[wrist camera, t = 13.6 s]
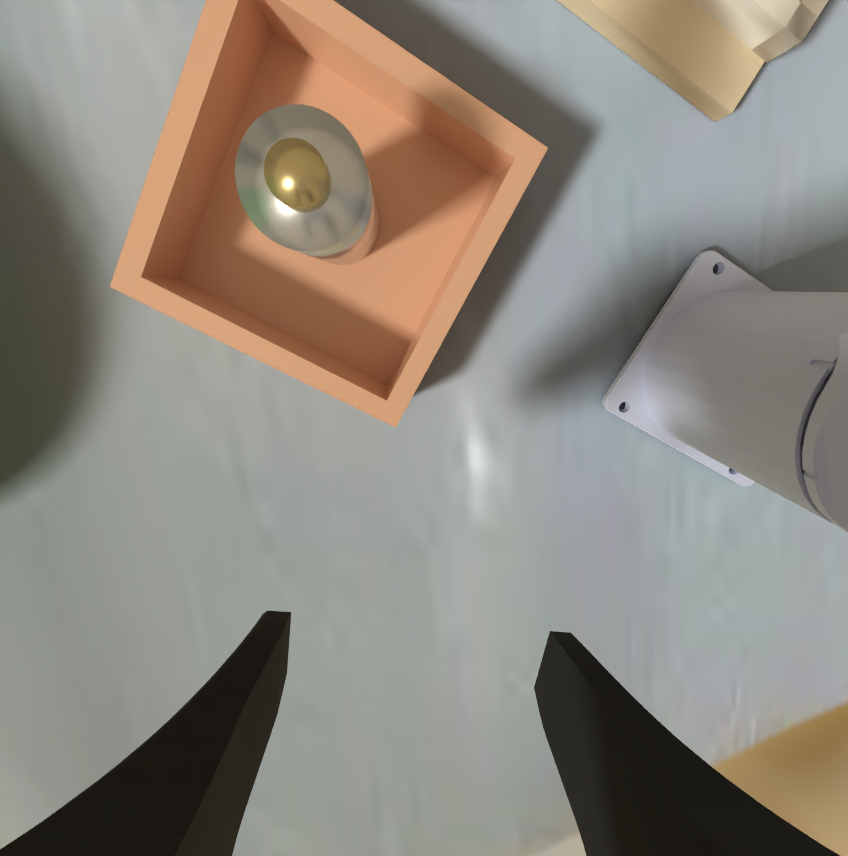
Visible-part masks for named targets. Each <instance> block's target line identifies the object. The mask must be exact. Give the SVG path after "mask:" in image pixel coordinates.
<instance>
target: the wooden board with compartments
mask: <svg viewBox="0 0 848 856" xmlns="http://www.w3.org/2000/svg"><path fill="white" fill-rule="evenodd" d="M557 1H559V2H560V3H561V4H562V5H564V6H565V7H566V8H568V9H569V10H570V11H571V12H573V13H574V14H575V15H577V16H578V17H579V18H581V19H582V20H583V21H584V22H586V23H587V24H588V25H590V26H591V27H592V28H593V29H595V30H596V31H597V32H599V33H600V34H601V35H603V36H604V37H605V38H606V39H608V40H609V41H610V42H612V43H613V44H614V45H616V46H617V47H618V48H619V49H621V50H622V51H623V52H625V53H626V54H627V55H628V56H630V57H631V58H632V59H634V60H635V61H636V62H638V63H639V64H640V65H641V66H643V67H644V68H645V69H647V70H648V71H649V72H651V73H652V74H653V75H654V76H656V77H657V78H658V79H660V80H661V81H662V82H663V83H665V84H666V85H667V86H669V87H670V88H671V89H673V90H674V91H675V92H676V93H678V94H679V95H680V96H682V97H683V98H684V99H685V100H687V101H688V102H689V103H691V104H692V105H693V106H695V107H696V108H697V109H698V110H700V111H701V112H702V113H704V114H705V115H706V116H708V117H709V118H710V119H711V120H713V121H714V122H715V121H717V120H719V119H721V118H723V117H725V116H727V115H729V114H731V113H733V111H734V109H735V108H736V106H737V105H738V103H739V101H740V100H741V98H742V97H743V95H744V94H745V92H746V90H747V89H748V87H749V86H750V84H751V82H752V81H753V79H754V78H755V76H756V75H757V73H758V71H759V70H760V68H761V67H762V65H763V63H764V62H766V63H767V62H769V61H771V60H772V59H774V58H776V57H777V56H779V55H781V54H782V53H784V52H786V51H788V50H789V49H791V48H793V47H794V46H796V45H798V44H799V43H801V42H802V41H803V39H804V38H805V36H806V35H807V33H808V32H809V30H810V28H811V27H812V25H813V24H814V22H815V21H816V19H817V18H818V16H819V14H820V13H821V11H822V10H823V8H824V7H825V5H826V4H827V2H828V0H557Z"/></svg>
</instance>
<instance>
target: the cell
mask: <svg viewBox="0 0 848 856" xmlns="http://www.w3.org/2000/svg"><path fill="white" fill-rule="evenodd" d="M235 179H236V186H237V191H238V195H239V198H240V201H241V203H242V205H243V207H244V210H245V212H246V213H247V215H248V216H249V218H250V220H251V221H252V222H253V223H254V225H255V226H256V227H257V228H258V229H259V230H260V231H261V232H262V233H263V234H264V235H265V236H267V237H268V238H269V239H271V240H272V241H274V242H276V243H277V244H279V245H281V246H284V247H286V248H289V249H292V250H294V251H297V252H300V253H303V254H306V255H308V256H311V257H314V258H317V259H320V260H322V261H325V262H328V263H331V264H336V265H348V264H352V263H355V262H357V261H359V260H361V259H363V258H364V257H365V256H366V255H367V254H368V253H369V252H370V251H371V250H372V248H373V247H374V245H375V243H376V241H377V238H378V235H379V229H380V219H379V213H378V209H377V205H376V201H375V197H374V194H373V190H372V186H371V182H370V178H369V174H368V171H367V167H366V163H365V159H364V157H363V154H362V151H361V149H360V147H359V145H358V143H357V141H356V140H355V139H354V137H353V136H352V134H351V133H350V132H349V130H348V129H347V128H346V127H345V126H344V125H343V124H342V123H341V122H340V121H339V120H337V119H336V118H335V117H333V116H332V115H330V114H329V113H327V112H325V111H323V110H321V109H318V108H315V107H312V106H308V105H302V104H290V105H283V106H279V107H276V108H274V109H271V110H269V111H267V112H266V113H264V114H263V115H261V116H260V117H259V118H258V119H256V120H255V121H254V122H253V123H252V125H251V126H250V127H249V128H248V129H247V131H246V133H245V134H244V136H243V138H242V140H241V143H240V145H239V148H238V152H237V156H236V162H235Z"/></svg>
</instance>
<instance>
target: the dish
mask: <svg viewBox="0 0 848 856" xmlns="http://www.w3.org/2000/svg"><path fill="white" fill-rule="evenodd" d="M290 104H302V105H308V106H312V107H315V108H318V109H321V110H323V111H325V112H327V113H329V114H330V115H332V116H333V117H335V118H336V119H337V120H339V121H340V122H341V123H342V124H343V125H344V126H345V127H346V128H347V129H348V130H349V132H350V133H351V134H352V136H353V137H354V139H355V140H356V141H357V143H358V145H359V147H360V149H361V151H362V154H363V157H364V159H365V163H366V167H367V171H368V174H369V178H370V182H371V186H372V190H373V194H374V197H375V201H376V205H377V209H378V213H379V219H380V229H379V235H378V238H377V241H376V243H375V245H374V247H373V248H372V250H371V251H370V252H369V253H368V254H367V255H366V256H365V257H364V258H363V259H361V260H359V261H357V262H355V263H352V264H348V265H336V264H331V263H328V262H325V261H322V260H320V259H317V258H314V257H311V256H308V255H306V254H303V253H300V252H297V251H294V250H292V249H289V248H286V247H284V246H281V245H279V244H277V243H276V242H274V241H272V240H271V239H269V238H268V237H267V236H265V235H264V234H263V233H262V232H261V231H260V230H259V229H258V228H257V227H256V226H255V225H254V223H253V222H252V221H251V220H250V218H249V216H248V215H247V213H246V212H245V210H244V207H243V205H242V203H241V201H240V198H239V195H238V191H237V186H236V179H235V162H236V156H237V152H238V148H239V145H240V143H241V140H242V138H243V136H244V134H245V133H246V131H247V129H248V128H249V127H250V126H251V125H252V123H253V122H254V121H255V120H256V119H258V118H259V117H260V116H261V115H263V114H264V113H266V112H267V111H269V110H271V109H274V108H276V107H279V106H283V105H290ZM547 149H548V147H546V146H545V145H543V144H542V143H540V142H539V141H537V140H536V139H534V138H533V137H532V136H530V135H529V134H527V133H526V132H524V131H523V130H521V129H520V128H518V127H517V126H516V125H514V124H513V123H511V122H510V121H508V120H507V119H505V118H504V117H502V116H501V115H500V114H498V113H497V112H495V111H494V110H492V109H491V108H489V107H488V106H486V105H485V104H483V103H482V102H481V101H479V100H478V99H476V98H475V97H473V96H472V95H470V94H469V93H467V92H466V91H465V90H463V89H462V88H460V87H459V86H457V85H456V84H454V83H453V82H451V81H450V80H449V79H447V78H446V77H444V76H443V75H441V74H440V73H438V72H437V71H435V70H434V69H433V68H431V67H430V66H428V65H427V64H425V63H424V62H422V61H421V60H419V59H418V58H417V57H415V56H414V55H412V54H411V53H409V52H408V51H406V50H405V49H403V48H402V47H401V46H399V45H398V44H396V43H395V42H393V41H392V40H390V39H389V38H387V37H386V36H385V35H383V34H382V33H380V32H379V31H377V30H376V29H374V28H373V27H371V26H370V25H369V24H367V23H366V22H364V21H363V20H361V19H360V18H358V17H357V16H355V15H354V14H352V13H351V12H350V11H348V10H347V9H345V8H344V7H342V6H341V5H339V4H338V3H336V2H335V1H334V0H206V2H205V5H204V8H203V11H202V14H201V17H200V20H199V23H198V26H197V29H196V32H195V35H194V38H193V41H192V44H191V47H190V50H189V53H188V56H187V59H186V62H185V65H184V68H183V71H182V74H181V76H180V79H179V82H178V85H177V88H176V91H175V94H174V97H173V100H172V103H171V106H170V109H169V112H168V115H167V118H166V121H165V124H164V127H163V130H162V133H161V136H160V139H159V142H158V145H157V148H156V151H155V154H154V157H153V160H152V163H151V166H150V169H149V172H148V175H147V178H146V181H145V184H144V187H143V190H142V192H141V195H140V198H139V201H138V204H137V207H136V210H135V213H134V216H133V219H132V222H131V225H130V228H129V231H128V234H127V237H126V240H125V243H124V246H123V249H122V252H121V255H120V258H119V261H118V264H117V267H116V270H115V273H114V276H113V279H112V282H111V285H110V287H111V288H113V289H115V290H117V291H119V292H122V293H124V294H126V295H128V296H130V297H132V298H134V299H136V300H138V301H140V302H142V303H144V304H146V305H148V306H150V307H152V308H154V309H156V310H158V311H160V312H162V313H164V314H166V315H168V316H170V317H172V318H174V319H176V320H178V321H180V322H182V323H184V324H187V325H189V326H191V327H193V328H195V329H197V330H199V331H201V332H203V333H205V334H207V335H209V336H211V337H213V338H215V339H217V340H219V341H221V342H223V343H225V344H227V345H229V346H231V347H233V348H235V349H237V350H239V351H241V352H243V353H245V354H247V355H249V356H252V357H254V358H256V359H258V360H260V361H262V362H264V363H266V364H268V365H270V366H272V367H274V368H276V369H278V370H280V371H282V372H284V373H286V374H288V375H290V376H292V377H294V378H296V379H298V380H300V381H302V382H304V383H306V384H308V385H310V386H312V387H314V388H316V389H319V390H321V391H323V392H325V393H327V394H329V395H331V396H333V397H335V398H337V399H339V400H341V401H343V402H345V403H347V404H349V405H351V406H353V407H355V408H357V409H359V410H361V411H363V412H365V413H367V414H369V415H371V416H373V417H375V418H377V419H379V420H381V421H384V422H386V423H388V424H390V425H392V426H394V427H396V426H397V424H398V422H399V421H400V419H401V417H402V415H403V413H404V411H405V410H406V408H407V406H408V404H409V402H410V400H411V399H412V397H413V395H414V393H415V391H416V389H417V388H418V386H419V384H420V382H421V380H422V378H423V377H424V375H425V373H426V371H427V369H428V367H429V366H430V364H431V362H432V360H433V358H434V356H435V355H436V353H437V351H438V349H439V347H440V345H441V344H442V342H443V340H444V338H445V336H446V334H447V333H448V331H449V329H450V327H451V325H452V323H453V322H454V320H455V318H456V316H457V314H458V312H459V311H460V309H461V307H462V305H463V303H464V301H465V300H466V298H467V296H468V294H469V292H470V290H471V289H472V287H473V285H474V283H475V281H476V279H477V278H478V276H479V274H480V272H481V270H482V268H483V267H484V265H485V263H486V261H487V259H488V257H489V256H490V254H491V252H492V250H493V248H494V246H495V245H496V243H497V241H498V239H499V237H500V235H501V234H502V232H503V230H504V228H505V226H506V224H507V223H508V221H509V219H510V217H511V215H512V213H513V212H514V210H515V208H516V206H517V204H518V202H519V201H520V199H521V197H522V195H523V193H524V191H525V190H526V188H527V186H528V184H529V182H530V180H531V179H532V177H533V175H534V173H535V171H536V169H537V168H538V166H539V164H540V162H541V160H542V158H543V157H544V155H545V153H546V151H547Z"/></svg>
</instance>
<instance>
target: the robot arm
mask: <svg viewBox="0 0 848 856" xmlns="http://www.w3.org/2000/svg"><path fill="white" fill-rule="evenodd" d="M715 264H717V265H718V271H717V272H716V273H715V274H714V273H713V267H714V265H715ZM622 402H625V404H626V405H625V408H624V409H623V410H620V411H619V406H620V404H621V403H622ZM602 404H603V407H604V408H605V409H606V410H608V411H609V412H611V413H613V414H615V415H617V416H618V417H620V418H622V419H624V420H626V421H627V422H629V423H631V424H633V425H634V426H636V427H638V428H640V429H642V430H643V431H645V432H647V433H649V434H650V435H652V436H654V437H656V438H658V439H659V440H661V441H663V442H665V443H666V444H668V445H670V446H672V447H674V448H675V449H677V450H679V451H681V452H683V453H684V454H686V455H688V456H690V457H691V458H693V459H695V460H697V461H699V462H700V463H702V464H704V465H706V466H707V467H709V468H711V469H713V470H715V471H716V472H718V473H720V474H722V475H724V476H725V477H727V478H729V479H731V480H732V481H734V482H736V483H738V484H740V485H741V486H750V485H752V484H753V483H754V482H757V483H759V484H760V485H762V486H764V487H766V488H768V489H770V490H772V491H773V492H775V493H777V494H779V495H781V496H783V497H785V498H786V499H788V500H790V501H792V502H794V503H796V504H797V505H799V506H801V507H803V508H805V509H807V510H809V511H810V512H812V513H814V514H816V515H818V516H820V517H822V518H823V519H825V520H827V521H829V522H831V523H834V524H835V525H837V526H839V527H840V528H842V529H843V530H845V531H847V532H848V292H794V291H772V290H771V289H769V288H768V287H767V286H765V285H764V284H762V283H761V282H759V281H758V280H757V279H755V278H754V277H752V276H751V275H749V274H748V273H746V272H745V271H744V270H742V269H741V268H739V267H738V266H736V265H735V264H733V263H732V262H731V261H729V260H728V259H726V258H725V257H723V256H722V255H720V254H719V253H718V252H716V251H713V250H711V251H703V252H701V253H699V254H698V256H697V257H696V258H695V259H694V261H693V262H692V264H691V265H690V267H689V269H688V270H687V272H686V273H685V275H684V276H683V278H682V279H681V281H680V282H679V284H678V285H677V287H676V288H675V290H674V291H673V293H672V294H671V296H670V297H669V299H668V300H667V302H666V303H665V305H664V306H663V308H662V309H661V311H660V312H659V314H658V315H657V317H656V318H655V320H654V321H653V323H652V324H651V326H650V327H649V329H648V330H647V332H646V333H645V335H644V336H643V338H642V339H641V341H640V342H639V344H638V345H637V347H636V348H635V350H634V351H633V353H632V355H631V356H630V358H629V359H628V361H627V362H626V364H625V365H624V367H623V368H622V370H621V371H620V373H619V374H618V376H617V377H616V379H615V380H614V382H613V383H612V385H611V386H610V388H609V389H608V391H607V392H606V394H605V395H604V397H603V399H602ZM730 468H731V469H732V470H730V471H729V469H730ZM290 621H291V612H279V611H267V612H265V613H264V614H263V615H262V616H261V618H260V619H259V621H258V622H257V623H256V625H255V626H254V627H253V629H252V630H251V631H250V633H249V634H248V635H247V636H246V638H245V639H244V640H243V641H242V643H241V644H240V645H239V646H238V648H237V649H236V650H235V651H234V652H233V653H232V655H231V656H230V657H229V658H228V659H227V660H226V662H225V663H224V664H223V665H222V666H221V667H220V668H219V670H218V671H217V672H216V673H215V674H214V675H213V676H212V677H211V678H210V679H209V681H208V682H207V683H206V684H205V685H204V686H203V687H202V688H201V689H200V690H199V691H198V692H197V693H196V694H195V695H194V696H193V697H192V698H191V699H190V700H189V701H188V702H187V703H186V704H185V705H184V706H183V707H182V708H181V709H180V710H179V711H178V712H177V713H176V714H175V715H174V716H173V717H172V718H171V719H170V720H169V721H168V722H167V723H166V724H164V725H163V726H162V727H161V728H160V729H159V730H158V731H157V732H156V733H154V734H153V735H152V736H151V737H150V738H149V739H148V740H147V741H145V742H144V743H143V744H142V745H141V746H140V747H138V748H137V749H136V750H135V751H134V752H132V753H131V754H130V755H129V756H128V757H126V758H125V759H124V760H123V761H122V762H121V763H119V764H118V765H117V766H116V767H114V768H113V769H112V770H111V771H109V772H108V773H107V774H106V775H104V776H103V777H102V778H101V779H99V780H98V781H97V782H95V783H94V784H93V785H91V786H90V787H89V788H87V789H86V790H85V791H83V792H82V793H80V794H79V795H78V796H76V797H75V798H74V799H72V800H71V801H70V802H68V803H67V804H66V805H64V806H63V807H62V808H60V809H59V810H57V811H56V812H55V813H53V814H52V815H51V816H49V817H48V818H47V819H45V820H44V821H42V822H41V823H39V824H38V825H36V826H35V827H34V828H32V829H31V830H29V831H28V832H26V833H25V834H23V835H22V836H20V837H18V838H17V839H15V840H14V841H12V842H11V843H9V844H8V845H6V846H5V847H3V848H2V849H0V856H232V853H233V849H234V845H235V842H236V838H237V834H238V831H239V828H240V824H241V821H242V818H243V814H244V811H245V808H246V806H247V803H248V800H249V797H250V794H251V791H252V788H253V785H254V782H255V779H256V776H257V773H258V770H259V767H260V764H261V761H262V758H263V755H264V752H265V749H266V746H267V743H268V740H269V738H270V735H271V732H272V729H273V726H274V723H275V720H276V716H277V713H278V709H279V705H280V700H281V696H282V692H283V688H284V683H285V679H286V674H287V663H288V649H289V635H290ZM534 689H535V693H536V698H537V703H538V707H539V712H540V716H541V720H542V724H543V728H544V731H545V734H546V737H547V740H548V743H549V746H550V749H551V751H552V754H553V757H554V760H555V763H556V766H557V769H558V771H559V774H560V777H561V780H562V783H563V785H564V788H565V791H566V794H567V797H568V800H569V802H570V805H571V808H572V811H573V814H574V816H575V819H576V822H577V825H578V828H579V832H580V835H581V838H582V841H583V844H584V848H585V852H586V855H587V856H839V855H838V854H836V853H835V852H833V851H831V850H830V849H828V848H826V847H825V846H823V845H821V844H820V843H818V842H817V841H815V840H814V839H812V838H810V837H809V836H808V835H806V834H805V833H803V832H801V831H800V830H798V829H797V828H795V827H794V826H792V825H791V824H789V823H788V822H786V821H785V820H783V819H782V818H780V817H779V816H777V815H776V814H775V813H773V812H772V811H770V810H769V809H767V808H766V807H764V806H763V805H762V804H760V803H759V802H757V801H756V800H754V799H753V798H752V797H751V796H749V795H748V794H746V793H745V792H744V791H742V790H741V789H740V788H738V787H737V786H735V785H734V784H733V783H732V782H730V781H729V780H728V779H726V778H725V777H724V776H722V775H721V774H720V773H718V772H717V771H716V770H715V769H713V768H712V767H711V766H710V765H708V764H707V763H706V762H705V761H704V760H702V759H701V758H700V757H699V756H698V755H696V754H695V753H694V752H693V751H692V750H690V749H689V748H688V747H687V746H686V745H684V744H683V743H682V742H681V741H680V740H679V739H677V738H676V737H675V736H674V735H673V734H672V733H671V732H670V731H668V730H667V729H666V728H665V727H664V726H663V725H662V724H661V723H660V722H659V721H658V720H657V719H656V718H654V717H653V716H652V715H651V714H650V713H649V712H648V711H647V710H646V709H645V708H644V707H643V706H642V705H641V704H640V703H639V702H638V701H637V700H636V699H635V698H634V697H633V696H632V695H631V694H630V693H629V692H628V691H627V690H626V689H625V688H624V687H623V686H622V685H621V684H620V683H619V682H618V681H617V680H616V679H615V678H614V677H613V676H612V675H611V674H610V673H609V672H608V671H607V670H606V669H605V668H604V667H603V666H602V665H601V664H600V663H599V662H598V660H597V659H596V658H595V657H594V656H593V655H592V654H591V653H590V652H589V651H588V650H587V649H586V648H585V647H584V646H583V645H582V644H581V643H580V642H579V641H578V640H577V639H576V638H575V637H574V636H573V635H572V634H571V633H566V632H553V631H550V633H549V637H548V640H547V644H546V647H545V651H544V655H543V658H542V662H541V665H540V669H539V672H538V676H537V680H536V683H535V687H534Z"/></svg>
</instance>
